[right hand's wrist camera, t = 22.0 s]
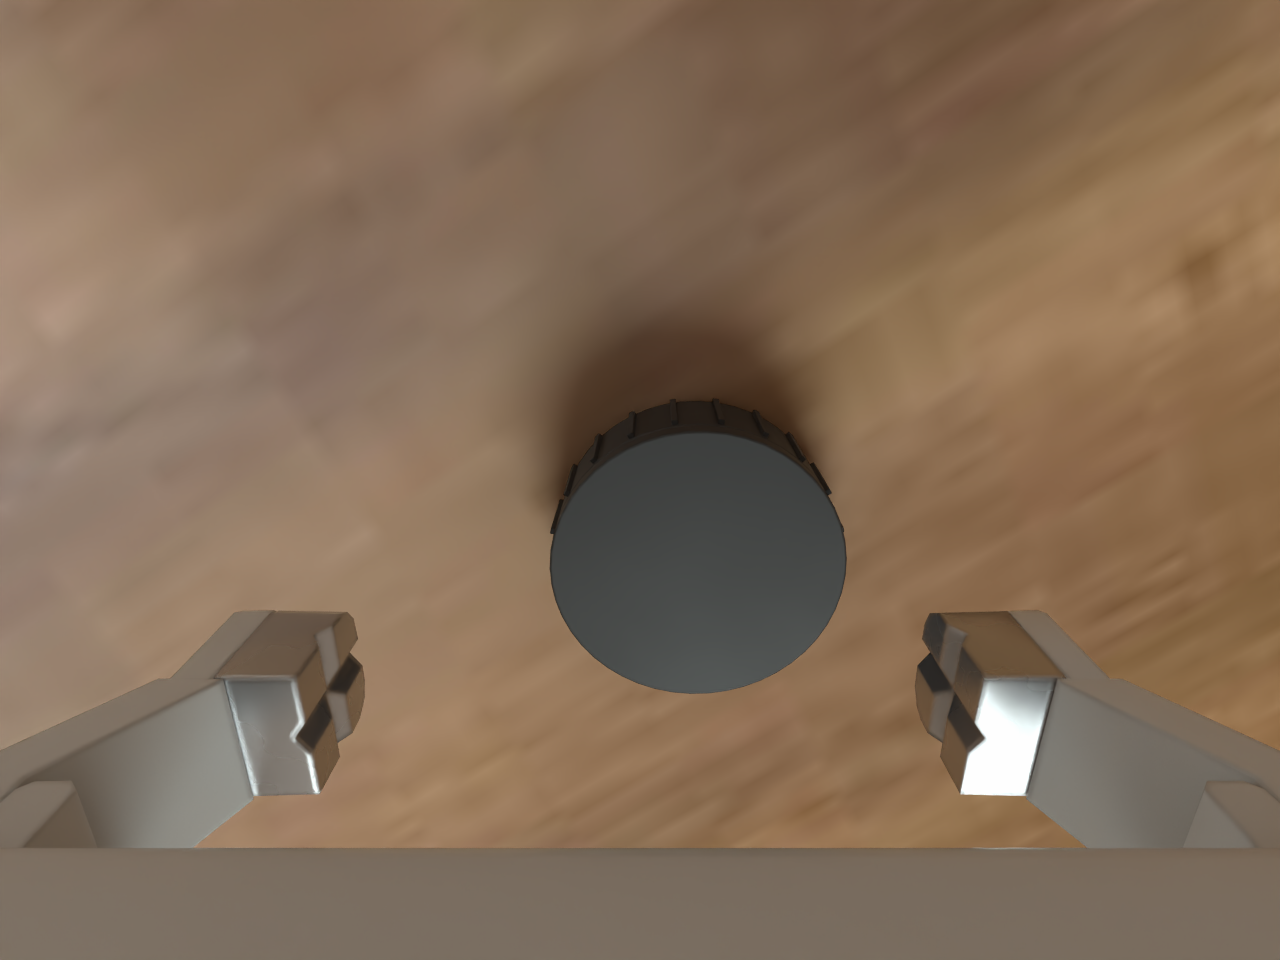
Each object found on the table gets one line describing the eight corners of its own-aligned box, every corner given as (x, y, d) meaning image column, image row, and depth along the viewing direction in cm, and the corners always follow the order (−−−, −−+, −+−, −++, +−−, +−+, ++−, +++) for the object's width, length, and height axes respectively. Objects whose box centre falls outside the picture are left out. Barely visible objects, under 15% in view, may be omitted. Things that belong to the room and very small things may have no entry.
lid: (771, 666, 16) (787, 727, 14) (531, 603, 15) (515, 657, 13) (868, 441, 14) (901, 478, 12) (597, 361, 13) (589, 388, 12)
